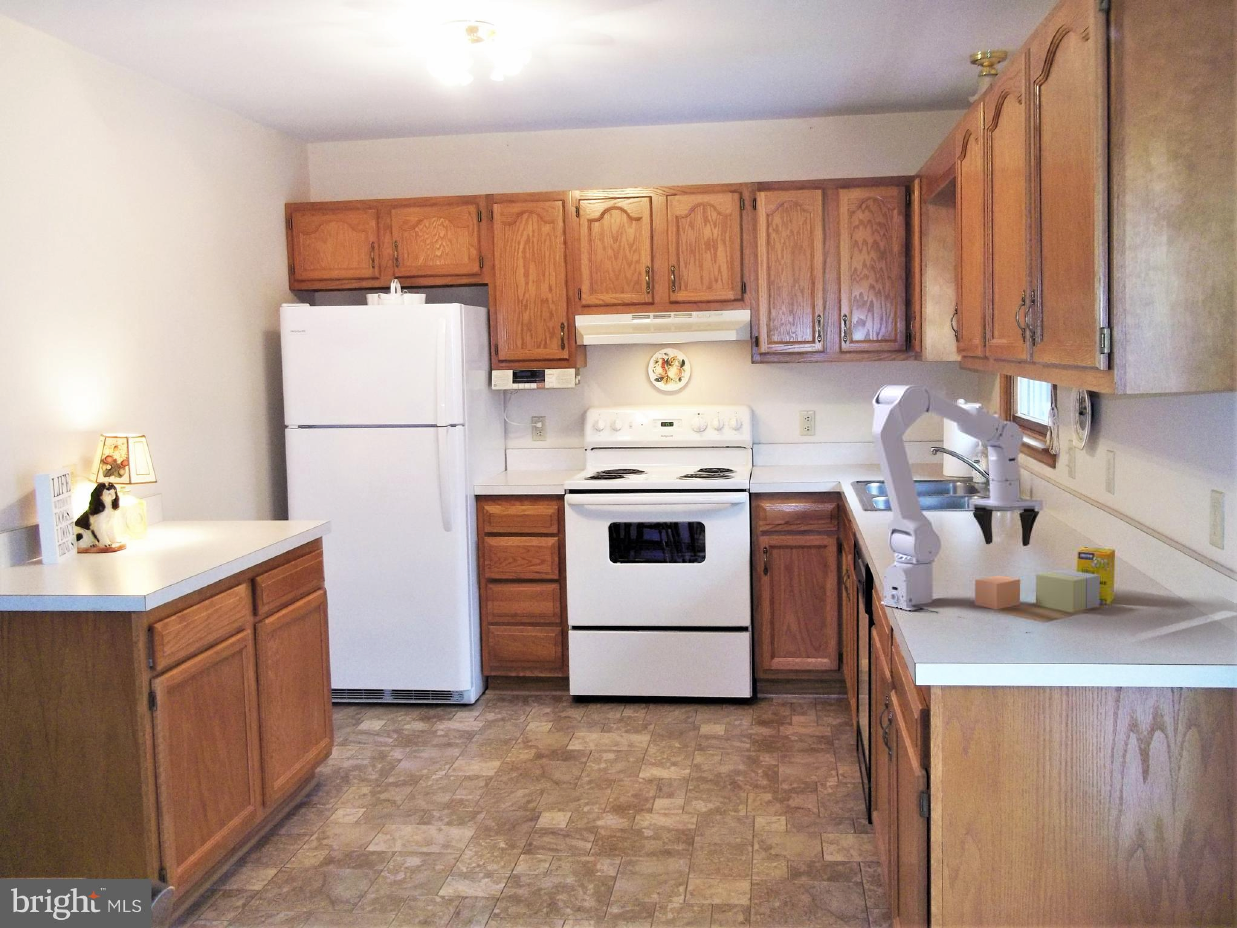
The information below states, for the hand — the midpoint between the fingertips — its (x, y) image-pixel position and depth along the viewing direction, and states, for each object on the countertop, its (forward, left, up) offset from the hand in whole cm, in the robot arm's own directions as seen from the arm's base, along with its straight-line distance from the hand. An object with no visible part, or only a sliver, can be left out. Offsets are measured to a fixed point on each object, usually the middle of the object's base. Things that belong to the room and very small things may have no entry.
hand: (1007, 544), depth 227 cm
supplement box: (+5, -17, -11) cm, 21 cm away
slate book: (-2, -17, -9) cm, 19 cm away
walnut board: (-9, -17, -10) cm, 22 cm away
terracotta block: (-13, -8, -11) cm, 19 cm away
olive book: (-6, -17, -9) cm, 20 cm away
